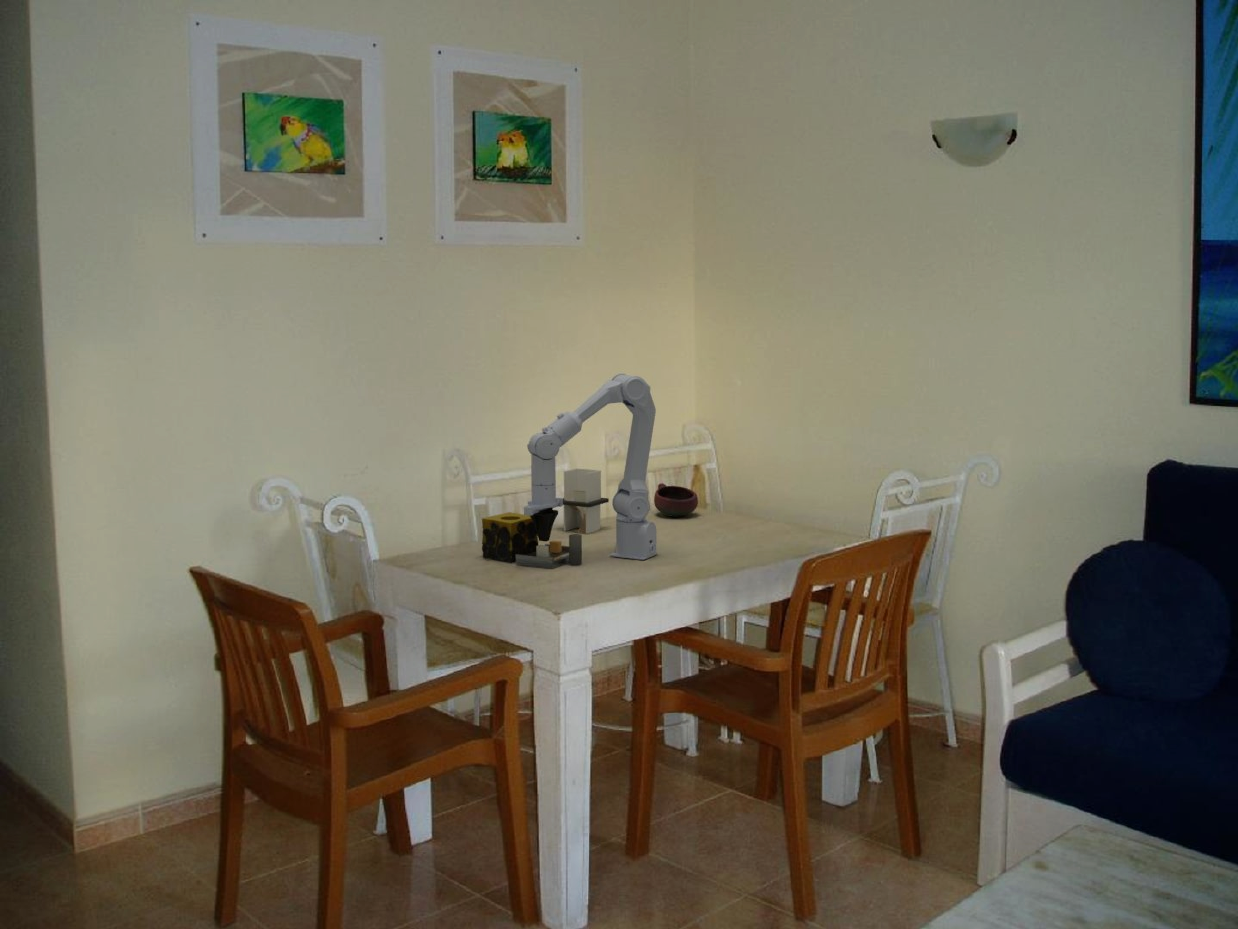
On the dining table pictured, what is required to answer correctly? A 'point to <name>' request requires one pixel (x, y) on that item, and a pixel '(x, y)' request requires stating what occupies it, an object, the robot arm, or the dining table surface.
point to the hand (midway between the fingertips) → (544, 540)
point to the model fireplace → (582, 500)
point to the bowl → (675, 500)
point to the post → (575, 549)
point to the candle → (508, 536)
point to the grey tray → (544, 559)
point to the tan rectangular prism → (555, 546)
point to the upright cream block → (542, 550)
